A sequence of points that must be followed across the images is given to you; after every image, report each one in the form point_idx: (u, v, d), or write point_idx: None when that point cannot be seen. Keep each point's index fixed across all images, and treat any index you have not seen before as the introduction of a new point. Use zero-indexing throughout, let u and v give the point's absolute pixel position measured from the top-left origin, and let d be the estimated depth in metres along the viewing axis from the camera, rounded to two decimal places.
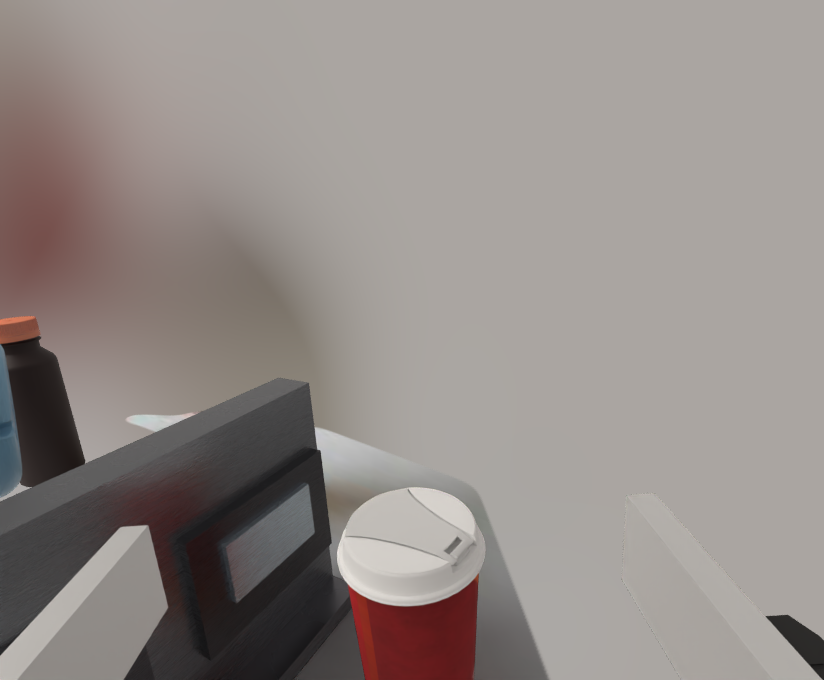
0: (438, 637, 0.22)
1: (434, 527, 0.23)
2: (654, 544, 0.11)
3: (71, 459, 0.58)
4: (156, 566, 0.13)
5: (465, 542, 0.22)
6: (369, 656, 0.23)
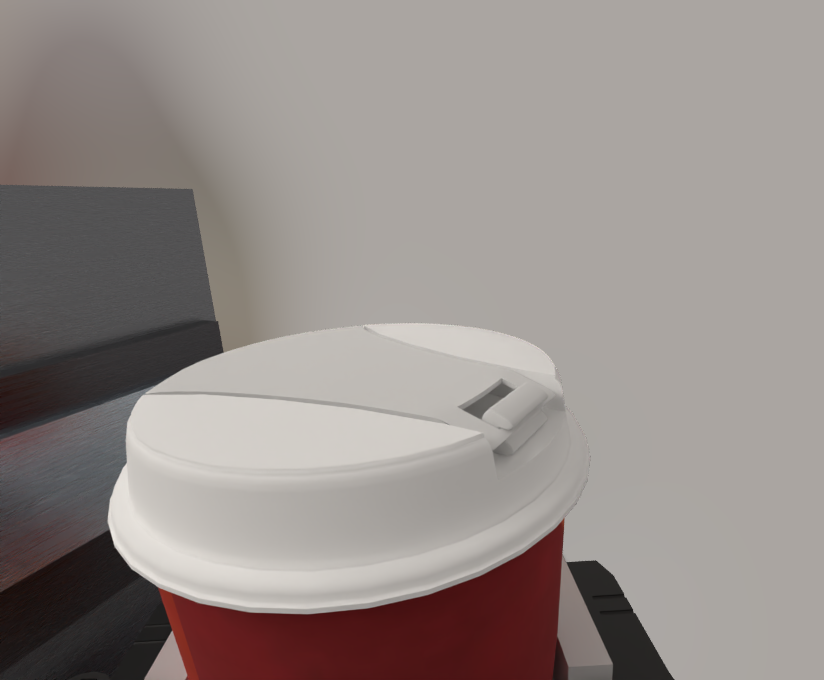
0: None
1: (426, 368, 0.08)
2: None
3: None
4: None
5: (532, 389, 0.06)
6: None
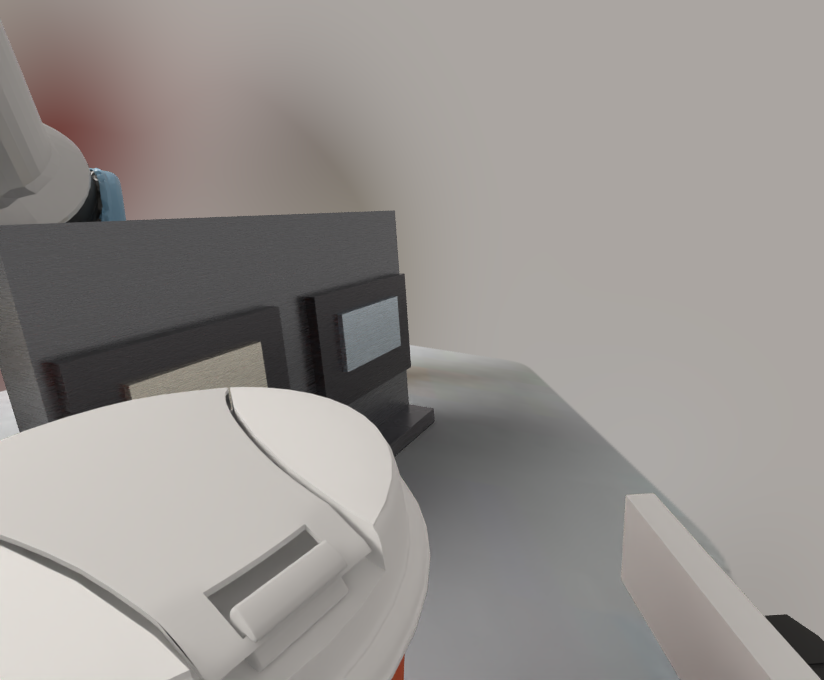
0: None
1: (232, 489, 0.06)
2: (653, 544, 0.11)
3: None
4: None
5: (326, 555, 0.05)
6: None
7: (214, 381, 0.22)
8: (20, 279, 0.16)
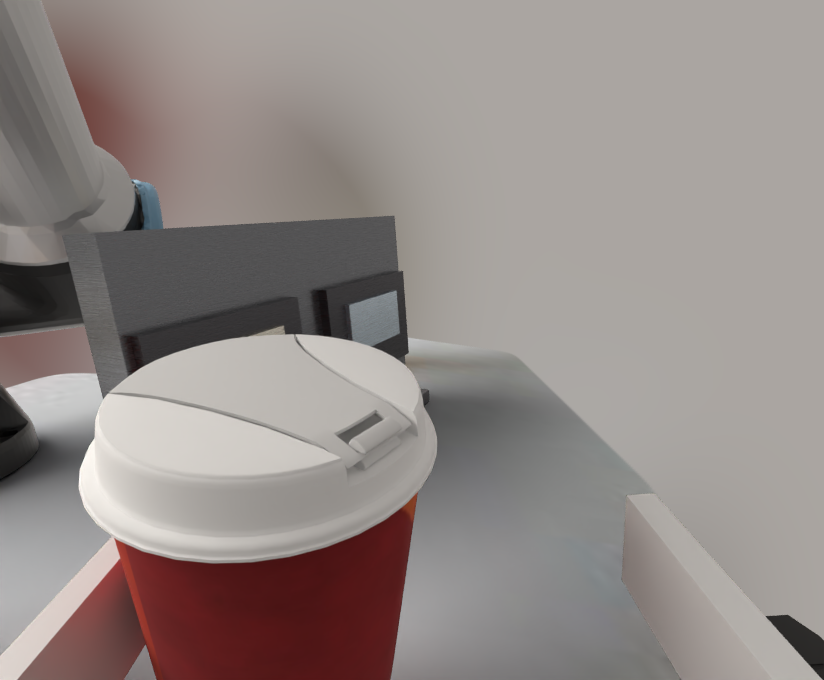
0: (303, 636, 0.09)
1: (327, 392, 0.10)
2: (654, 545, 0.11)
3: None
4: None
5: (391, 422, 0.09)
6: (152, 662, 0.10)
7: None
8: (112, 272, 0.22)
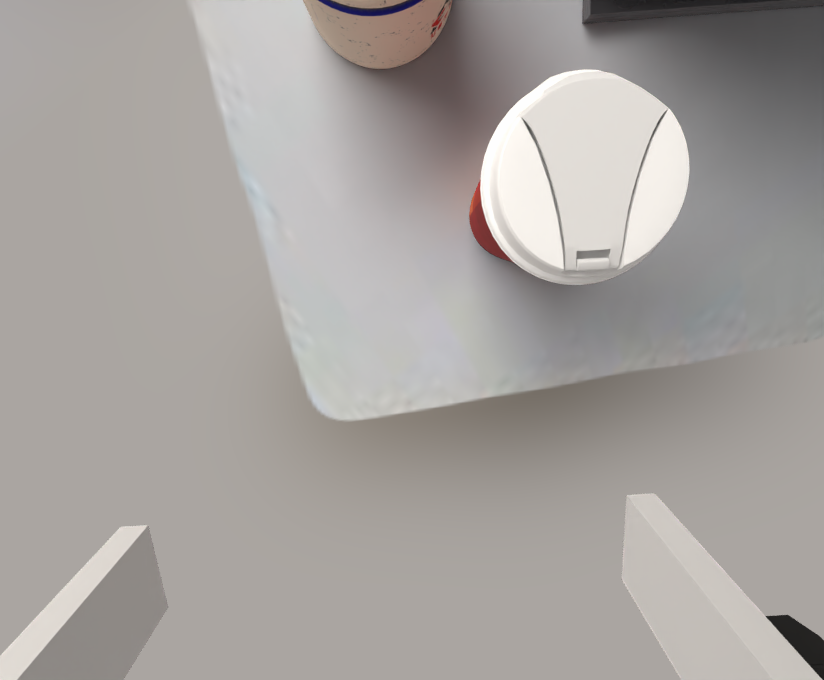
0: None
1: (608, 211, 0.17)
2: (654, 544, 0.11)
3: None
4: (156, 566, 0.13)
5: (605, 264, 0.17)
6: (478, 192, 0.22)
7: None
8: None
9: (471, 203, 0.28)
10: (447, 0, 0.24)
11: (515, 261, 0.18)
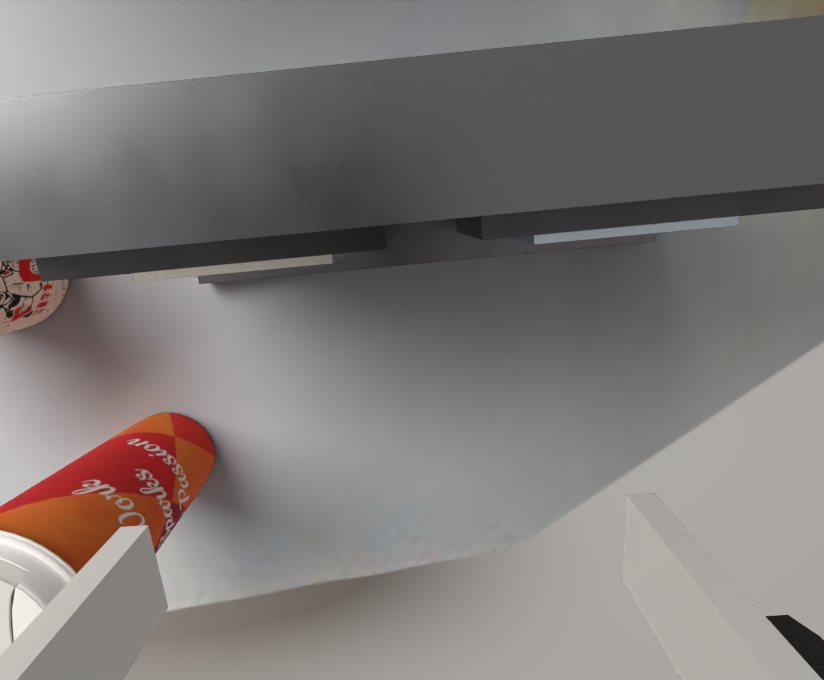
0: None
1: None
2: (654, 544, 0.11)
3: None
4: (156, 566, 0.13)
5: None
6: None
7: None
8: None
9: None
10: (11, 306, 0.24)
11: None
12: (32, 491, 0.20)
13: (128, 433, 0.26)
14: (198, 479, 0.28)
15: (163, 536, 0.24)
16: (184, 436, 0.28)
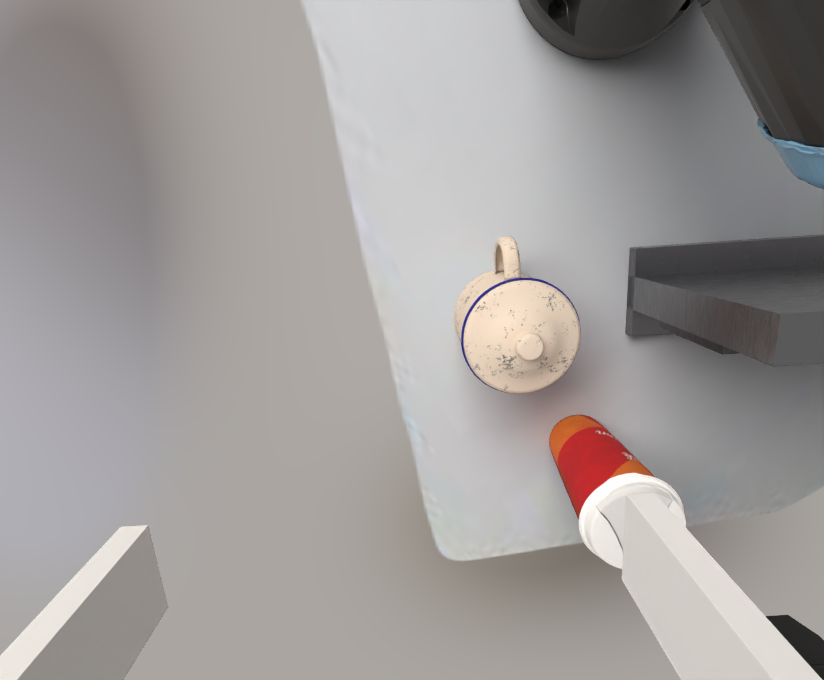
0: None
1: None
2: (654, 545, 0.11)
3: None
4: (156, 566, 0.13)
5: None
6: (568, 487, 0.39)
7: None
8: None
9: (553, 450, 0.45)
10: None
11: None
12: (606, 459, 0.37)
13: (584, 428, 0.43)
14: None
15: None
16: None
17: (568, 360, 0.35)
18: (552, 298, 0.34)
